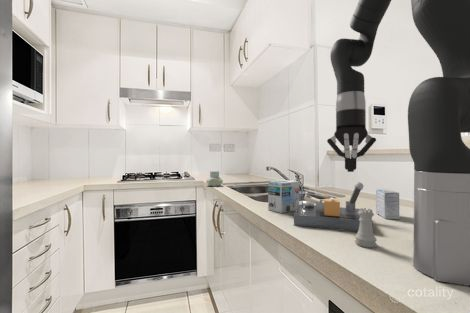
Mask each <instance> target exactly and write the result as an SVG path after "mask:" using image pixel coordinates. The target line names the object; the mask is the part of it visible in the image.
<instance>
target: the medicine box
mask: <svg viewBox="0 0 470 313" xmlns="http://www.w3.org/2000/svg"><path fill="white" fill-rule="evenodd" d="M375 197H376V198H375V203H376V204H375V213H376V214H377V215H378V214H379V215H378V216H380V217H382V218H383V219H386V220H397V219H398V220H400V215H401V214H400V192H397V191H394V190H390V189H376V190H375Z"/></svg>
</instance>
